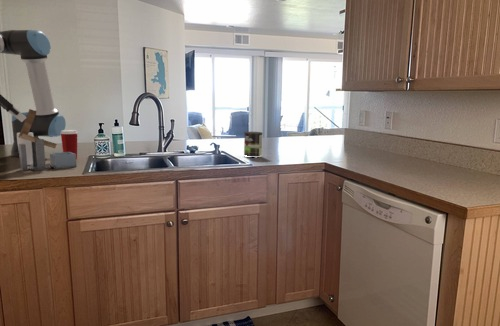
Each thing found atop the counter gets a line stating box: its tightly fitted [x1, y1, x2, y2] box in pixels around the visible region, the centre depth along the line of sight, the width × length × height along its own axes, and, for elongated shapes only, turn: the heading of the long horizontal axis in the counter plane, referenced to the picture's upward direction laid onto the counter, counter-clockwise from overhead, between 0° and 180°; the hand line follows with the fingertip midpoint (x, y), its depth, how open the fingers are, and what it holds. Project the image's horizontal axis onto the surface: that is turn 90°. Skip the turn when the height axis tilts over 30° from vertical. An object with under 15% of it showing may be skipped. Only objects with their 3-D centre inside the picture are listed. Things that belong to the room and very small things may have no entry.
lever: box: [19, 108, 58, 149], centre depth 165 cm, size 6×14×13 cm, turn 133°
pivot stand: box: [28, 138, 51, 172], centre depth 166 cm, size 9×6×14 cm, turn 43°
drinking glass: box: [17, 132, 34, 166], centre depth 175 cm, size 7×7×15 cm
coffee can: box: [243, 131, 263, 156], centre depth 214 cm, size 10×10×14 cm
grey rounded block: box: [49, 151, 78, 170], centre depth 173 cm, size 9×9×6 cm
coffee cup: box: [60, 129, 79, 161], centre depth 191 cm, size 8×8×15 cm
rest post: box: [19, 144, 29, 172], centre depth 162 cm, size 4×2×11 cm, turn 43°
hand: (24, 119), depth 160 cm, fingers closed
